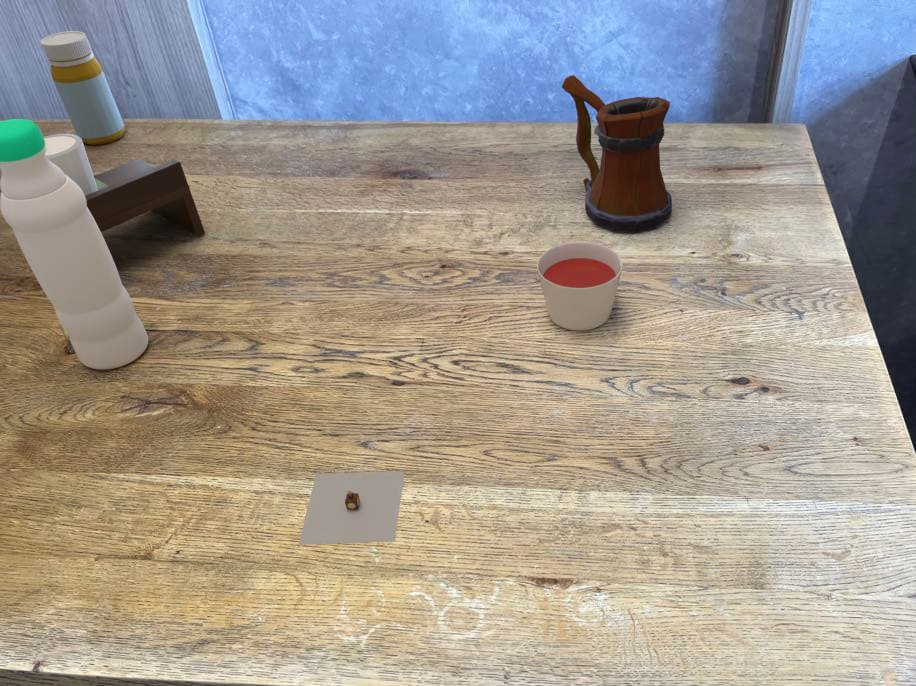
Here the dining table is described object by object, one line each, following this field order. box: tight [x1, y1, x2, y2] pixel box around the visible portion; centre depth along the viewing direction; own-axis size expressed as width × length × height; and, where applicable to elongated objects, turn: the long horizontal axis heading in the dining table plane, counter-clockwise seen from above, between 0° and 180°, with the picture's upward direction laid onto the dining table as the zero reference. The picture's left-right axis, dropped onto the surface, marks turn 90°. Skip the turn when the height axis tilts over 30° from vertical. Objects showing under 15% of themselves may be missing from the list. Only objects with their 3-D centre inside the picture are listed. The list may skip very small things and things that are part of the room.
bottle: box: [40, 30, 126, 146], centre depth 124 cm, size 7×7×15 cm
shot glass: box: [43, 133, 98, 196], centre depth 96 cm, size 7×7×7 cm
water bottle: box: [0, 118, 149, 371], centre depth 79 cm, size 7×7×25 cm
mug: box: [561, 74, 673, 233], centre depth 103 cm, size 18×12×15 cm, turn 38°
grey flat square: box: [298, 470, 406, 546], centre depth 70 cm, size 8×8×2 cm
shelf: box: [85, 158, 206, 238], centre depth 101 cm, size 12×16×10 cm
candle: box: [536, 241, 623, 331], centre depth 88 cm, size 9×9×6 cm
